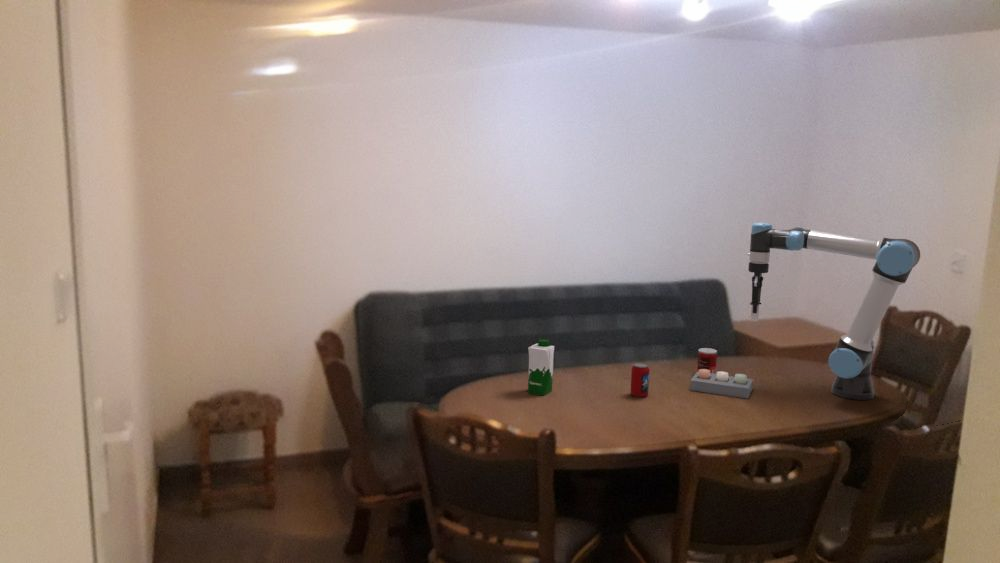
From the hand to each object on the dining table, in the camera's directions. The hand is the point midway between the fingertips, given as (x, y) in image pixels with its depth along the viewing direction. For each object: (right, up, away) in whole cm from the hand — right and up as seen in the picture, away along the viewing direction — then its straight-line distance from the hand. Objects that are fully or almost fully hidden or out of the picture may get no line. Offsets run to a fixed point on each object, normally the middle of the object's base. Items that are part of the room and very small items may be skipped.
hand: (754, 320), depth 310 cm
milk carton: (-86, -27, -12) cm, 91 cm away
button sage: (-8, -26, -7) cm, 28 cm away
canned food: (-15, -24, +15) cm, 32 cm away
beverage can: (-48, -28, -13) cm, 57 cm away
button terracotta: (-21, -25, -1) cm, 32 cm away
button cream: (-14, -25, -4) cm, 29 cm away
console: (-14, -27, -4) cm, 31 cm away
